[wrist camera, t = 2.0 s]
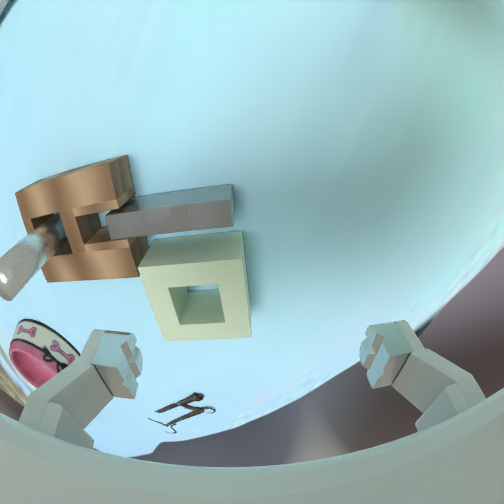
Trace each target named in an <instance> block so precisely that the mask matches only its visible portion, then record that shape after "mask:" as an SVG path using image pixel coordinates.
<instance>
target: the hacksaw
mask: <svg viewBox="0 0 504 504" xmlns="http://www.w3.org/2000/svg"><path fill="white" fill-rule="evenodd" d="M203 397H204V396H203V395H201V394H198V393H193V395H191V396H189V397H187V398H185V399H183V400H180V401H178V402H177V403H176V404H172V405H169V406H167V407H165V408H162V409H160V410H157V411H155V412H158V413H162V412H165V411H167V410H170V409H172V408H175V407H177V406H183V407H185V409H186V408H187V409H191V410H195V411H193V412H190V413H188V414H186V415H183V416H181V417H179V418H177V419H175V420H173V421H171V422H169V423H168V424H166V425H164V424H163V423H161V422H158V423H160V424H163V425H164V426H167V427H168V426H169V425H171V424H173V425H176V424H174V423H176V422H179V421H181V420H184V419H187V418H190V417H192V416H195V415H198V414H200V413H203V412H204V410H205V409H212V410H214V412H215V409H213V408H209V407H205V408H198V407H192V406H189V405H187V403H191V402H193V401H201V400H202V399H203ZM214 412H213V413H214ZM148 419H149V418H148ZM150 420H151V419H150ZM152 421H154V420H152ZM155 422H157V421H155ZM173 425H171V428H172V426H173ZM172 429H173V428H172ZM173 430H174V429H173ZM174 431H175V430H174ZM167 433H168V432H167ZM174 433H176V431H175V432H174Z"/></svg>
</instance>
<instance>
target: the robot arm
mask: <svg viewBox="0 0 504 504" xmlns="http://www.w3.org/2000/svg"><path fill="white" fill-rule="evenodd" d="M365 334H366V336H367V338H366V339H365V340H364V341H362V343H361V346H360V360H361V363H362V365H363V366H364V367H365V368H367V369H368V373H367V377H368V379H369V382H370V384H371V387H372V389H373V388H378V387H383V386H388V385H392V386H393V387H394V388H395V389H396V390H397V391H398V392H399V393H400V394H402V395H403V396H404V397H405V398H406V399H408V400H409V401H410V402H411V403H412V404H413V405H414V406H416V407H417V408H418V409H419V410H420V411H422V412H423V413H424V414H423V415H422V416H421V417H420V418H419V419H418V420H417V422H416V423H415V425H416V428H417V430H418V432H417V433H414V434H412V435H409V436H406V437H404V438H401V439H398V440H395V441H392V442H389V443H386V444H383V445H379V446H376V447H372V448H369V449H365V450H361V451H358V452H354V453H349V454H345V455H341V456H336V457H331V458H325V459H320V460H314V461H308V462H301V463H293V464H285V465H276V466H275V465H274V466H261V467H238V468H237V467H236V468H235V467H232V468H225V467H224V468H221V467H195V466H182V465H172V464H163V463H155V462H149V461H142V460H137V459H131V458H126V457H122V456H117V455H112V454H108V453H104V452H100V451H96V450H93V449H92V448H93V443H94V440H93V438H92V437H91V436H90V435H89V434H88V433H87V432H86V431H85V430H84V428H85V427H86V426H87V425H88V424H89V423H90V422H91V421H92V420H93V419H94V418H95V417H96V416H97V415H98V414H99V412H100V411H101V410H102V409H103V408H104V407H105V406H106V405H107V404H108V403H109V402H110V401H111V400H112V399H113V397H120V398H129V399H135V395H136V391H137V387H138V383H137V381H136V378H137V377H138V376H139V375H140V374H141V371H142V362H143V360H142V354H141V351H140V349H139V348H138V347H136V346H135V344H136V341H137V340H136V338H135V336H134V334H133V333H126V332H117V331H108V330H107V331H106V330H98V329H95V330H93V331H92V332H91V334H90V336H89V338H88V340H87V342H86V344H85V347H84V349H83V351H82V353H81V355H80V357H79V359H78V362H73V363H71V364H70V365H69V366H67V367H66V368H65V369H63V370H62V371H60V372H59V373H58V374H56V375H55V376H54V377H52V378H51V379H50V380H48V381H47V382H45V383H44V384H43V385H41V386H40V387H39V388H37V389H36V390H35V391H33V392H32V393H31V394H30V396H29V398H28V400H27V403H26V405H25V407H24V410H23V412H22V415H21V417H20V420H19V422H18V421H16V420H13V419H11V418H10V417H8V416H6V415H4V414H2V413H0V504H504V388H503V389H501V390H500V391H498V392H496V393H495V394H493V395H492V396H490V397H488V398H487V399H486V398H485V396H484V394H483V393H482V391H481V389H480V387H479V386H478V384H477V382H476V381H475V379H474V378H473V376H472V375H471V374H470V373H468V372H466V371H465V370H463V369H461V368H460V367H458V366H456V365H455V364H453V363H451V362H450V361H448V360H446V359H444V358H443V357H441V356H439V355H438V354H436V353H434V352H432V351H431V350H429V349H425V348H424V347H423V345H422V344H421V342H420V341H419V339H418V337H417V336H416V334H415V333H414V331H413V330H412V328H411V327H410V325H409V324H408V322H407V321H405V320H401V321H395V322H389V323H383V324H376V325H370V326H369V327H368V328H367V330H366V333H365Z"/></svg>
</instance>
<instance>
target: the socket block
mask: <svg viewBox="0 0 504 504" xmlns="http://www.w3.org/2000/svg"><path fill="white" fill-rule="evenodd" d="M15 195H16V199H17V202H18V206H19V209H20V212H21V216H22V219H23V222H24V225H25V228H26V231H27V234H29V233H30V232H32V231H33V230H34V229H35V228H37V227H38V226H39V225H41V224H42V223H43V222H44V221H46V220H47V219H48V218H50V217H51V216H53V215H54V213H56V212H59V213H60V217H61V220H62V223H63V226H64V229H65V232H66V235H67V238H68V241H67V242H66V243H65V244H64V245H63V246H62V247H61V248H60V249H59V250H58V251H57V252H56V253H55V254H54V255H53V256H52V257H51V258H50V259H49V260H48V261H47V262H46V263H45V264H44V265H43V266H42V267H41V269H42V271H43V274H44V276H45V278H46V280H47V282H65V281H83V280H100V279H115V278H131V277H139V276H140V273H139V270H138V266H139V264H140V263H141V261H142V259H143V258H144V256H145V254H146V252H147V251H148V249H149V248H148V244H147V241H146V237H145V236H138V237H130V238H122V239H114V240H111V237H110V233H109V230H108V227H107V226H105V227H101V224H100V221H99V217H98V214H97V212H102V211H108V210H113V209H119V208H120V207H121V206H122V205H123V204H124V203H125V202H127V201H128V200H129V199H130V198H131V197H132V196H133V195H135V191H134V186H133V182H132V177H131V172H130V167H129V161H128V156H127V155H124V156H120V157H116V158H112V159H108V160H104V161H100V162H97V163H93V164H89V165H86V166H82V167H79V168H75V169H72V170H69V171H66V172H63V173H60V174H56V175H53V176H50V177H48V178H45V179H42V180H39V181H36V182H35V183H33V184H31V185H29V186H27V187H25V188H23V189H21V190H20V191H18V192H16V193H15Z"/></svg>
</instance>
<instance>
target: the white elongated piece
mask: <svg viewBox="0 0 504 504" xmlns="http://www.w3.org/2000/svg"><path fill="white" fill-rule="evenodd" d="M8 1H9V0H0V15H1V13H2V11H3V10H4V8H5V6H6V4H7V3H8Z"/></svg>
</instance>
